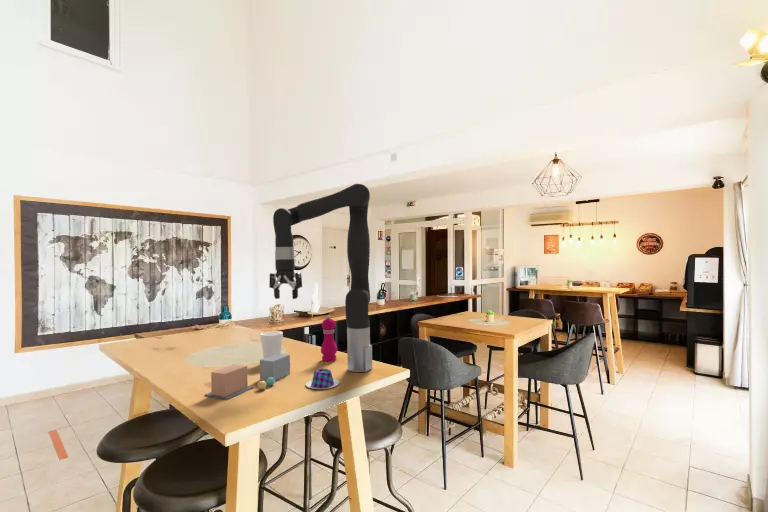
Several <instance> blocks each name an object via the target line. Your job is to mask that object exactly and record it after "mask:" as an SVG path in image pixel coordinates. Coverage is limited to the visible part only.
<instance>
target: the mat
mask: <svg viewBox="0 0 768 512" xmlns="http://www.w3.org/2000/svg"><path fill="white" fill-rule="evenodd" d="M253 389H254V386H251V385H248V387H247V388H244V389H242V390H240V391H238V392H235V393H233V394H231V395H229V396H226V397H223V396H217V395H212V394H211V391H210V392H208V393H205V394H204V397H209V398H214V399H221V400H225V401H229V400H230V399H232V398H235V397H237V396H239V395H241V394H243V393H245V392H248V391H250V390H253Z"/></svg>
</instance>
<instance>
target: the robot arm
mask: <svg viewBox="0 0 768 512" xmlns="http://www.w3.org/2000/svg"><path fill="white" fill-rule="evenodd" d="M370 197H371V195H370V190H369V188H368V187H367V186H366V185H365V184H363V183H354V184H352V185H349V186H348V187H346V188H344V189H342V190H339V191H337V192H335V193H332V194H329V195H326V196H323V197H319V198H316V199H315V198H314V199H312V200H308V201H305V202H302V203H299V204H298V205H296V206H295V207H291V208H288V209H287V208H282V207H281V208H278V209H276V210H274V213H273V217H272V223H273V230H274V234H275V235H274V236H275V241H274V242H275V243H274V244H275V250H274V258H275V259H274V262H275V264H274V265H275V271H276V272H271V273H269V288H271V289H273V296H274V298H275V300H277V299H280V298H281V295H280V291H281V290H280V287H281V286H282V285H283V284H286V285H287V284H288V285H289V286H290V287H291V288H292V289H291V291H292V292H291V293H292V294H291V295H292V296H291V297H292V300H296V299H298V297H299V289H300V288H303V279H302V272H295V269H296V268H295V266H296V265H295V249H294V235H293V234H292V226H294V225H297V224H299V223H302V222H304V221H309V220H313V219H317V218H319V217H321V216H324V215H326V214H329V213H331V212H333V211H336V210H339V209H343V208H346V207H347V208H348V209H349V210H348V211H349V224H348V225H349V226H348V231H347V245H346V247H347V249H346V251H347V252H346V253H347V262H348V265H349V272H350V288H349V291H348V292H347V293H346V295H345V299H344V300H345V302H344V303H345V304H344V305H345V320H346V328H347V329H346V333H347V334H346V336H347V337H346V339H347V342H346V343H347V345H346V346H347V351H346V352H347V353H346V354H347V370H348V371H349V372H352V373H368V371H370V370H371V369H373V345H372V344H371V330H370V329H371V327H370V326H371V324H370V323H371V322H370V321H371V320H370V318H369V317H370V316H369V304H370V302H371V291H370V280H369V271H370V270H369V269H370V256H371V255H370V254H371V252H370V251H371V248H370V247H371V246H370V245H371V242H370V241H371V240H370V230H369V225H368V224H369V223H368V215H369V213H368V211H369V203H370Z"/></svg>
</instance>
